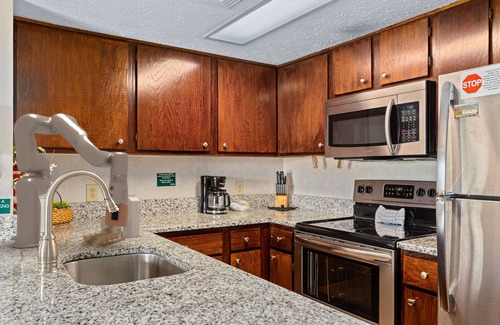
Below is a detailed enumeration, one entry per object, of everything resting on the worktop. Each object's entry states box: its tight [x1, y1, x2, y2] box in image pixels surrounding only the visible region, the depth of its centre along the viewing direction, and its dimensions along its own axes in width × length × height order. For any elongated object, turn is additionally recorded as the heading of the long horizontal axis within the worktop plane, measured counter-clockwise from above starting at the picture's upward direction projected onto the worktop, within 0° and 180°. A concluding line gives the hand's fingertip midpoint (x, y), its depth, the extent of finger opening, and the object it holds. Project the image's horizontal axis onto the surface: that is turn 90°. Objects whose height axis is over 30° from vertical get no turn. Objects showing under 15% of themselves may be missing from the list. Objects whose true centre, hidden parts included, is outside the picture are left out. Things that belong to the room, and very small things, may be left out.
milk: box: [122, 193, 141, 239], centre depth 203 cm, size 6×6×22 cm
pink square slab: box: [104, 204, 128, 228], centre depth 177 cm, size 10×2×10 cm, turn 77°
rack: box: [80, 216, 126, 247], centre depth 186 cm, size 12×18×11 cm, turn 167°
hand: (116, 219), depth 176 cm, fingers closed on pink square slab, 2 cm apart
